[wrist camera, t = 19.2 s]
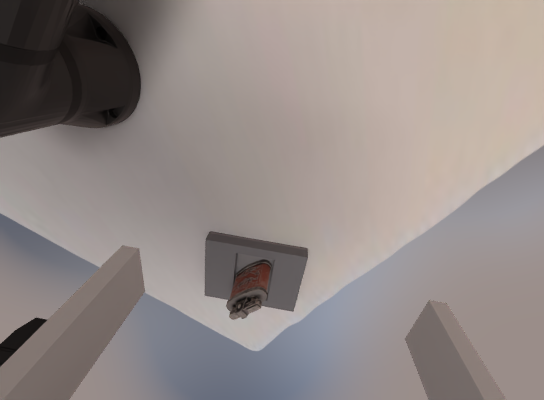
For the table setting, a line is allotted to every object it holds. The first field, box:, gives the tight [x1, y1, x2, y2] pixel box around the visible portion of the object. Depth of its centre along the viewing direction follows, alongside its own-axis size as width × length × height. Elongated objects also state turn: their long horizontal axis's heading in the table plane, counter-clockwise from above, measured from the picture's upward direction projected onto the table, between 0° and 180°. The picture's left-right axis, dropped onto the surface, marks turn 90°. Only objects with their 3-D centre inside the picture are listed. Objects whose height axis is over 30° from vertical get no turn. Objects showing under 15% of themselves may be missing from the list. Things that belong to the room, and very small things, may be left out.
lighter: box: [226, 259, 272, 320], centre depth 44 cm, size 8×3×10 cm, turn 126°
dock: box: [205, 232, 308, 311], centre depth 48 cm, size 18×14×2 cm
